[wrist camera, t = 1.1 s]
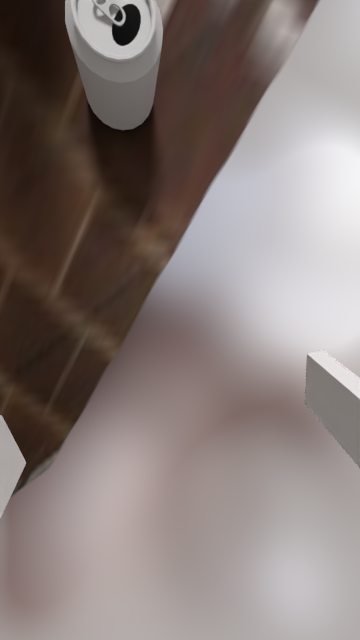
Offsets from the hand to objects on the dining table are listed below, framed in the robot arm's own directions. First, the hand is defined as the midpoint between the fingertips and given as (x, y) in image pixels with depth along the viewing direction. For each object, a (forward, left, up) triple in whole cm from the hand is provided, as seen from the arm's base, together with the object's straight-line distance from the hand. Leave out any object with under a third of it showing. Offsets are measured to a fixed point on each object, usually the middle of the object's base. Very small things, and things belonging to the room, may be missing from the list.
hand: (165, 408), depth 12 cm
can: (-22, +10, -27) cm, 36 cm away
